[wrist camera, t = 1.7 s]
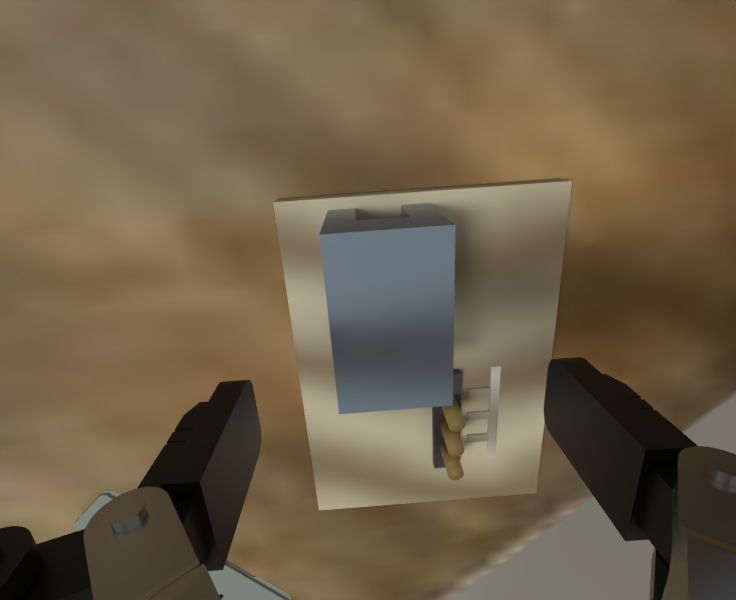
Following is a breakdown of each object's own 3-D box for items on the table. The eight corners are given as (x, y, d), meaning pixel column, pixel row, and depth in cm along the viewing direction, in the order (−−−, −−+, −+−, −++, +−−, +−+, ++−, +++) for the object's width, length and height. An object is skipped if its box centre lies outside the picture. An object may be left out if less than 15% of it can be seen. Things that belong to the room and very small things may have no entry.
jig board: (278, 198, 19) (261, 211, 15) (559, 178, 19) (606, 186, 15) (320, 493, 25) (315, 549, 22) (528, 477, 25) (555, 530, 22)
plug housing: (327, 210, 18) (319, 234, 13) (428, 202, 18) (455, 224, 13) (342, 351, 20) (339, 414, 16) (429, 344, 20) (452, 405, 16)
